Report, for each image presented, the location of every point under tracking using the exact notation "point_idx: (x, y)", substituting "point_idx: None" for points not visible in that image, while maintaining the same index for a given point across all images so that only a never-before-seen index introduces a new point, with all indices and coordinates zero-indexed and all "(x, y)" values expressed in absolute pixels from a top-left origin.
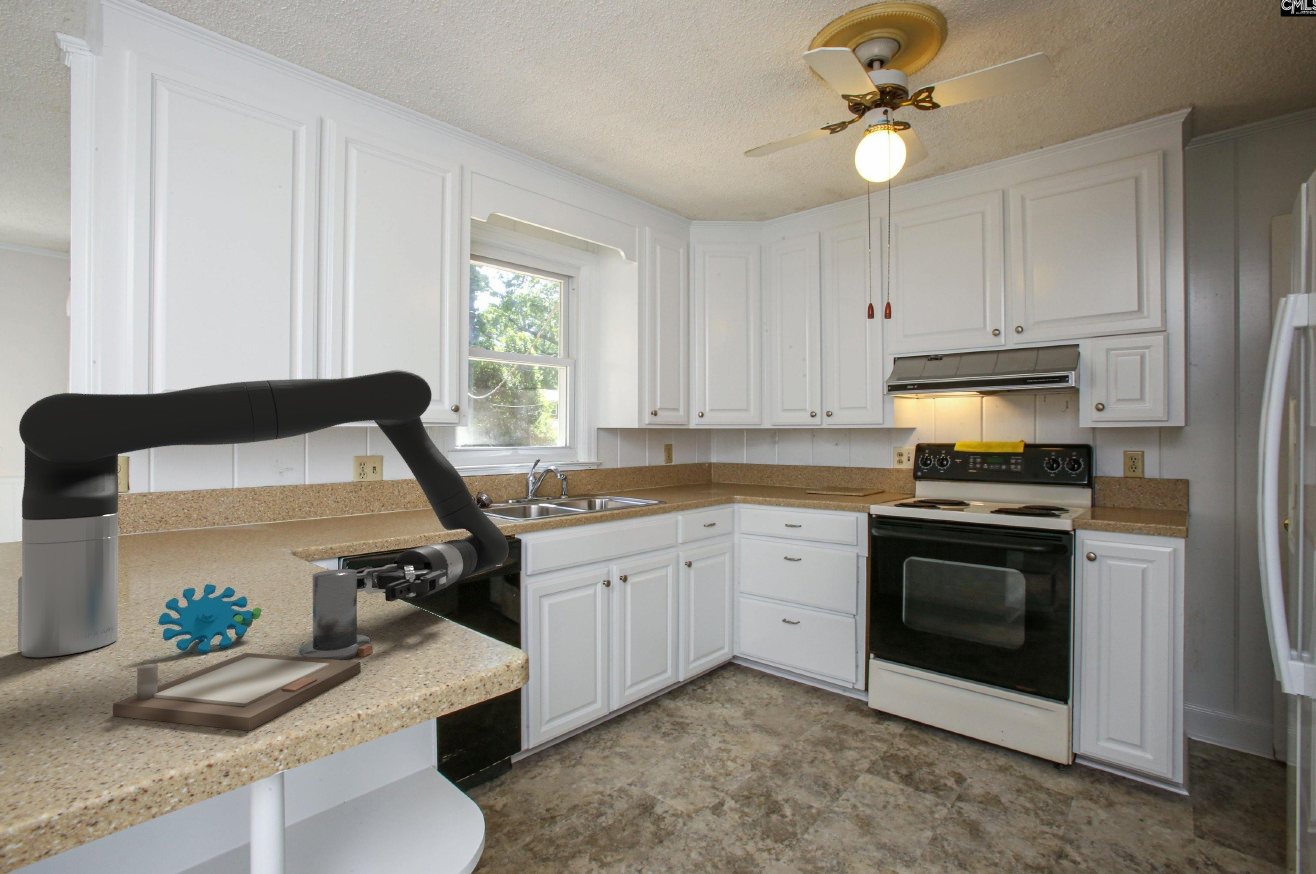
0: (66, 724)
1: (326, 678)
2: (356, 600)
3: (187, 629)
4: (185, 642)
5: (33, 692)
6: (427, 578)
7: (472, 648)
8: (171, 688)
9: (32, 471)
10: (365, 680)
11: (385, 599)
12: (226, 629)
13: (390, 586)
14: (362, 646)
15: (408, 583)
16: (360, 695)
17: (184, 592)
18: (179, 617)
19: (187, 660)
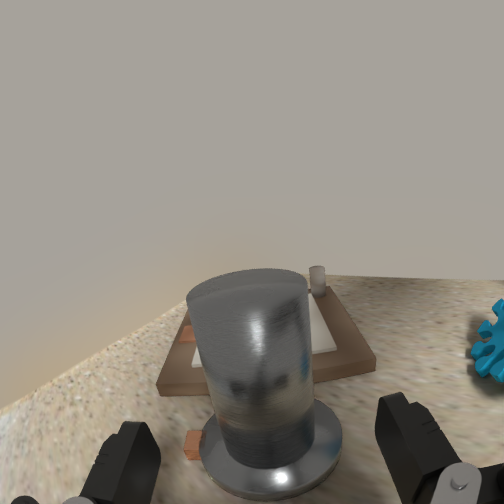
0: (344, 285)
1: (172, 348)
2: (207, 380)
3: (500, 315)
4: (483, 327)
5: (450, 284)
6: (15, 500)
7: (16, 475)
8: (311, 299)
9: None
10: (141, 381)
11: (158, 449)
12: (498, 352)
13: (126, 422)
14: (198, 438)
15: (87, 493)
16: (131, 358)
17: None
18: None
19: (455, 343)
